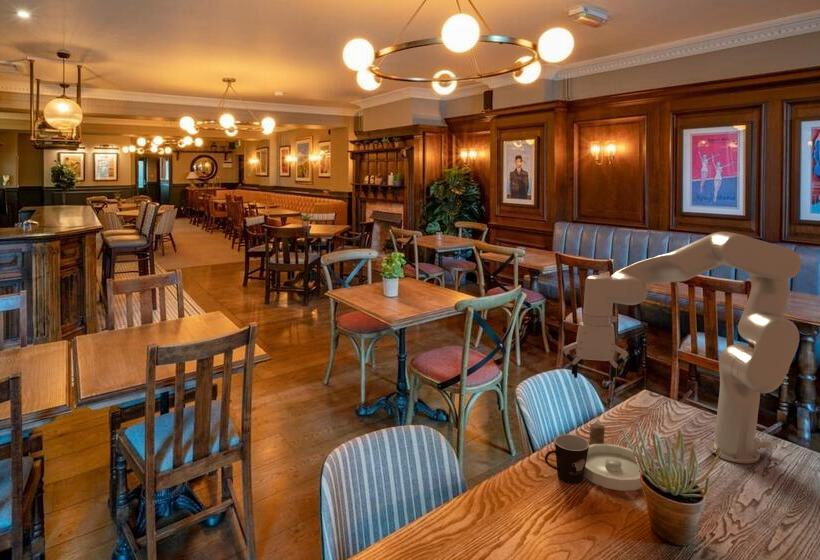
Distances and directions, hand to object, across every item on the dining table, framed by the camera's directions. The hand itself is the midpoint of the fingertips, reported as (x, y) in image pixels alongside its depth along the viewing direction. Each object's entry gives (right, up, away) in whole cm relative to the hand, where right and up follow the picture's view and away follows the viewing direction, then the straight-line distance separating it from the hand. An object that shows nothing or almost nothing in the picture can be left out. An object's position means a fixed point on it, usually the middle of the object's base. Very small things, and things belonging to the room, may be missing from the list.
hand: (592, 377), depth 144 cm
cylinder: (+3, -21, +6) cm, 22 cm away
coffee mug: (-11, -25, -10) cm, 29 cm away
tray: (+3, -24, -7) cm, 25 cm away
